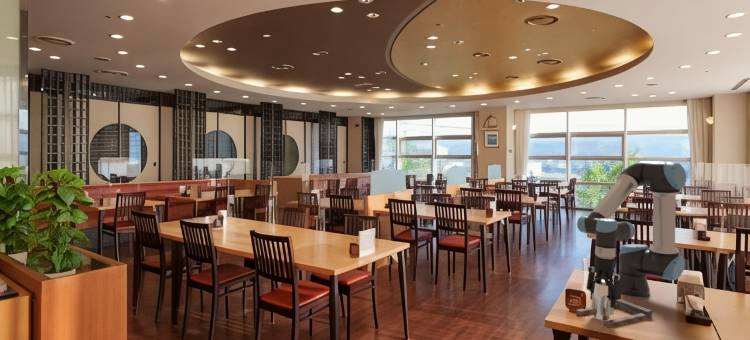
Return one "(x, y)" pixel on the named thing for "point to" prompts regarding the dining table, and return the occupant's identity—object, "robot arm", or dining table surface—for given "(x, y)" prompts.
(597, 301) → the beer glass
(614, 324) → the guide track
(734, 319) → the dining table surface
